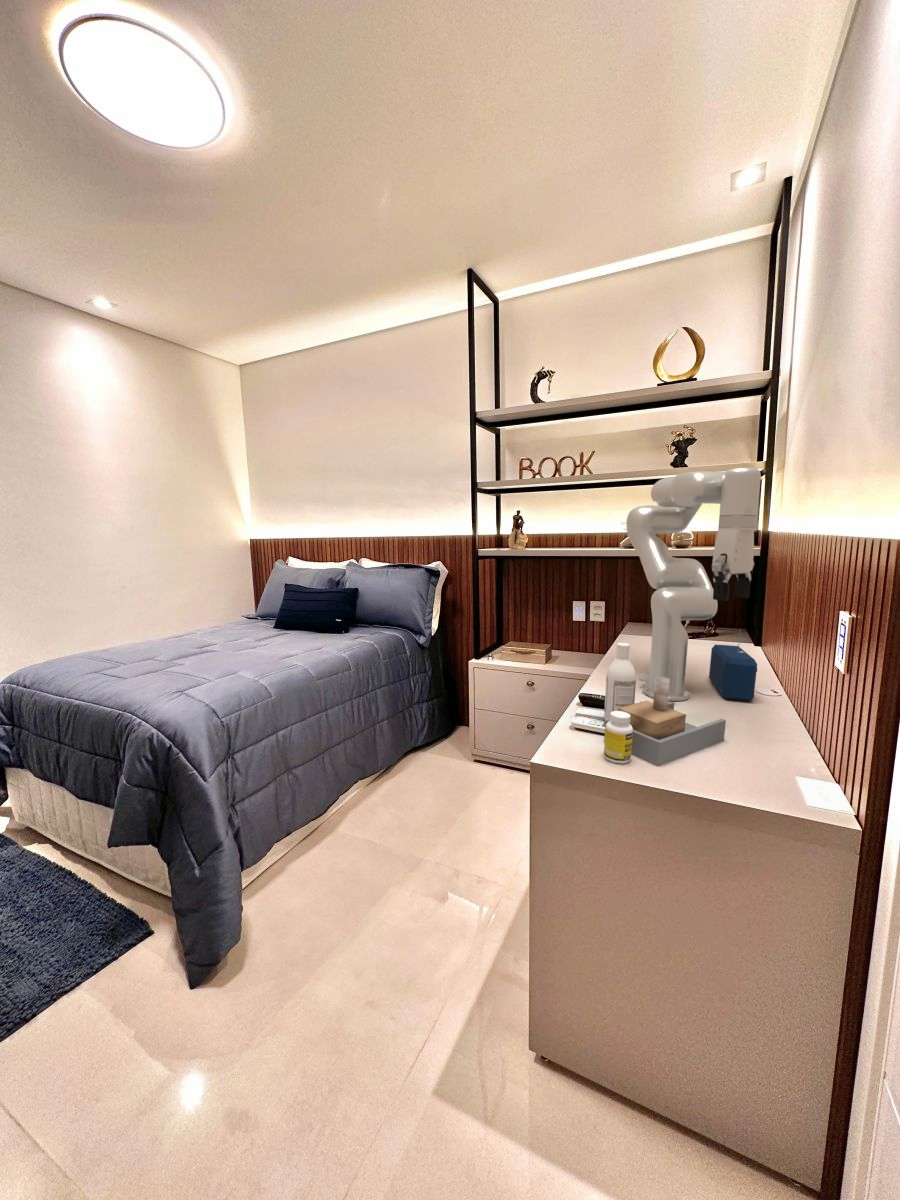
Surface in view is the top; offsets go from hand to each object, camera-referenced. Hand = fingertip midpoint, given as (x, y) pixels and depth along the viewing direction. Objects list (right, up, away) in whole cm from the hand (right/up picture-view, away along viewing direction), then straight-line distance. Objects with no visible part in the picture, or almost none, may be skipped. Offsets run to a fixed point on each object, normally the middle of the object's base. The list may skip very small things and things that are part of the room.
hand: (731, 598), depth 117 cm
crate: (-21, -32, -5) cm, 38 cm away
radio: (+19, -28, +34) cm, 48 cm away
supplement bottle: (-30, -34, -10) cm, 46 cm away
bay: (-16, -33, -2) cm, 36 cm away
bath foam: (-23, -31, +9) cm, 40 cm away
